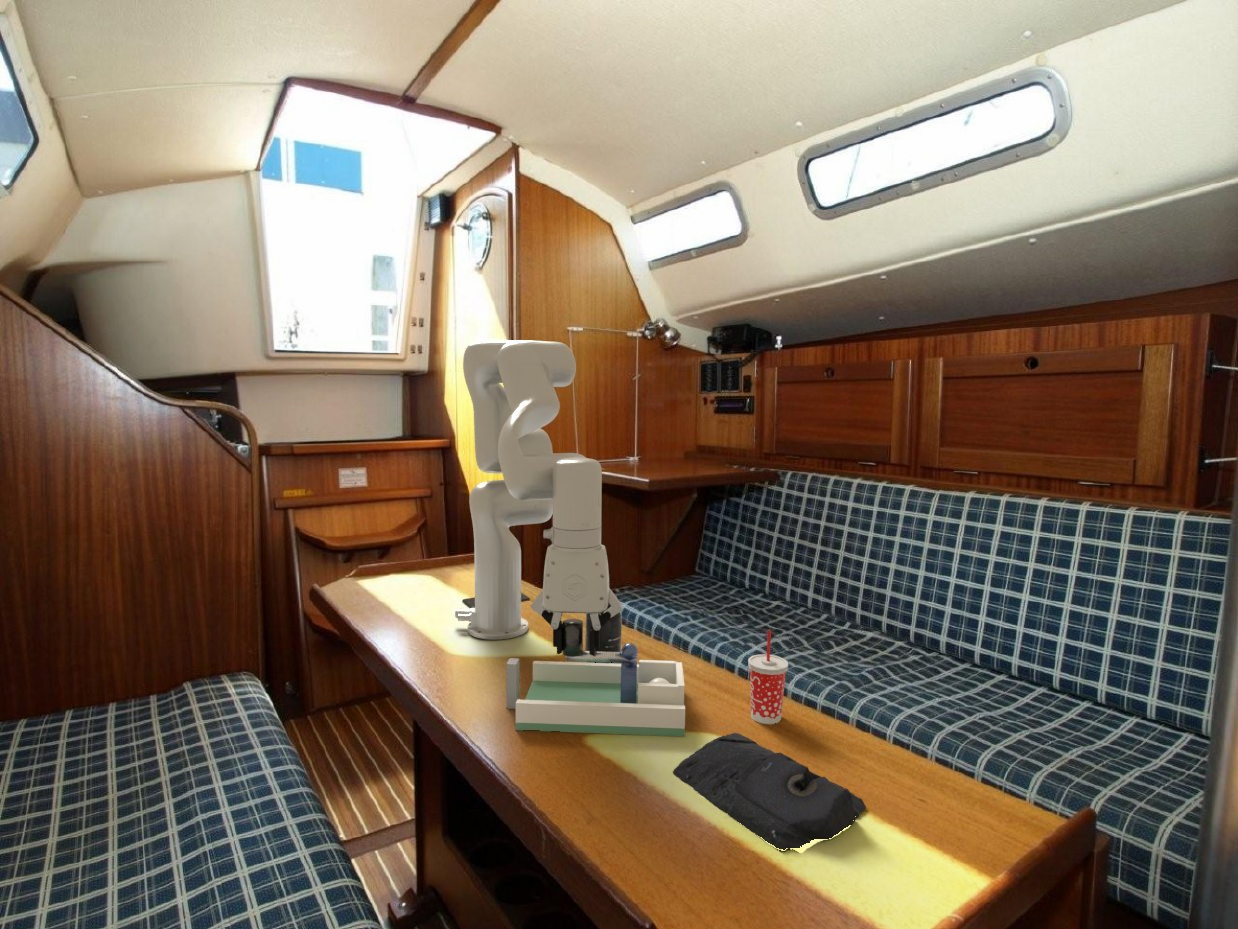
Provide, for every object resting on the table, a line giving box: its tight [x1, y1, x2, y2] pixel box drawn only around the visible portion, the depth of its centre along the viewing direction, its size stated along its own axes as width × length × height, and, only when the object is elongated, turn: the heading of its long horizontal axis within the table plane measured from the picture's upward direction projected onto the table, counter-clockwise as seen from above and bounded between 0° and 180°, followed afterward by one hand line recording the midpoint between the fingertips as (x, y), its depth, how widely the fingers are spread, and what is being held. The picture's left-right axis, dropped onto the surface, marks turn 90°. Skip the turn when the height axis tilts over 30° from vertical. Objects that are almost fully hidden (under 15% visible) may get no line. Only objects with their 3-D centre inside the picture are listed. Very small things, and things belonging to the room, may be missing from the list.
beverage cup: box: [747, 629, 789, 725], centre depth 106 cm, size 6×6×14 cm
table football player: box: [561, 618, 639, 704], centre depth 108 cm, size 12×6×12 cm, turn 87°
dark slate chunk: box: [672, 732, 867, 850], centre depth 87 cm, size 15×22×5 cm
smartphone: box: [461, 592, 531, 610], centre depth 164 cm, size 7×1×15 cm
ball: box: [650, 678, 670, 684], centre depth 108 cm, size 4×4×4 cm
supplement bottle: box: [584, 593, 623, 663], centre depth 129 cm, size 7×7×12 cm
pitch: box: [505, 657, 686, 737], centre depth 108 cm, size 28×16×7 cm, turn 87°
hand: (576, 650), depth 108 cm, fingers closed on table football player, 4 cm apart
